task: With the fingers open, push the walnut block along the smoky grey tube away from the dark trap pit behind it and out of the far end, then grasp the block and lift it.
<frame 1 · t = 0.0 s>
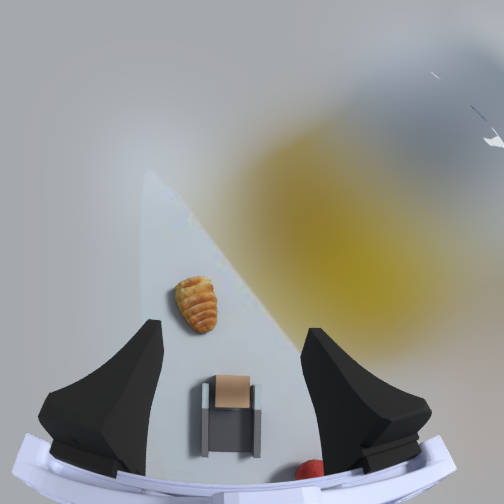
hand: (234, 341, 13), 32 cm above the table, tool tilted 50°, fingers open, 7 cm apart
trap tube: (230, 421, 37), on the table
onion: (306, 468, 35), on the table
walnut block: (230, 390, 40), on the table
pastry: (198, 303, 46), on the table
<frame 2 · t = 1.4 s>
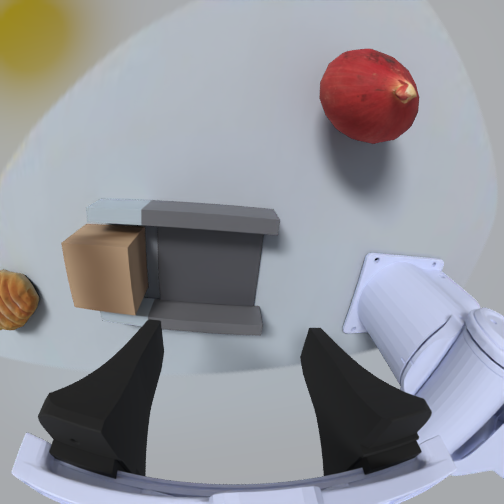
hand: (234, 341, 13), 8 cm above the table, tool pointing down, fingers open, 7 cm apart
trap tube: (184, 261, 20), on the table
onion: (343, 101, 16), on the table
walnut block: (117, 255, 19), on the table
pastry: (11, 291, 20), on the table
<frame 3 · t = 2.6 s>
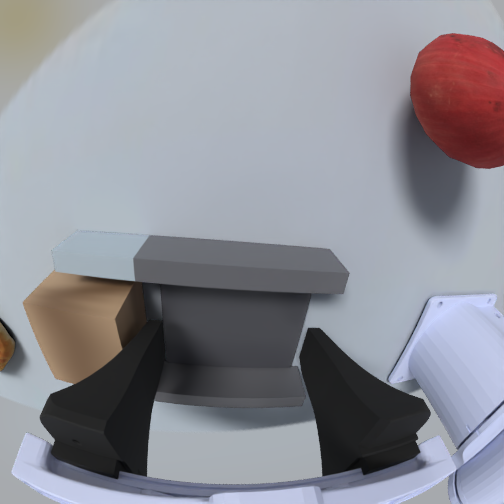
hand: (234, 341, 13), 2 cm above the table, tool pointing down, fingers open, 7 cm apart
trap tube: (200, 319, 14), on the table
onion: (421, 101, 10), on the table
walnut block: (105, 306, 13), on the table, touching gripper
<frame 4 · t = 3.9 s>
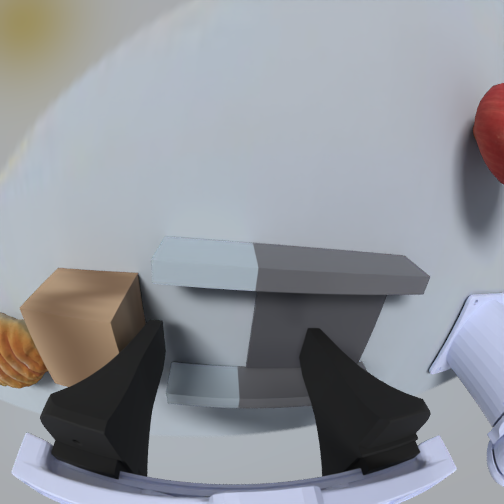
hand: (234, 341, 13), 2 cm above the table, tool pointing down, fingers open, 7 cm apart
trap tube: (288, 323, 14), on the table
onion: (473, 129, 11), on the table
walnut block: (103, 310, 13), on the table, touching gripper
pastry: (14, 338, 14), on the table
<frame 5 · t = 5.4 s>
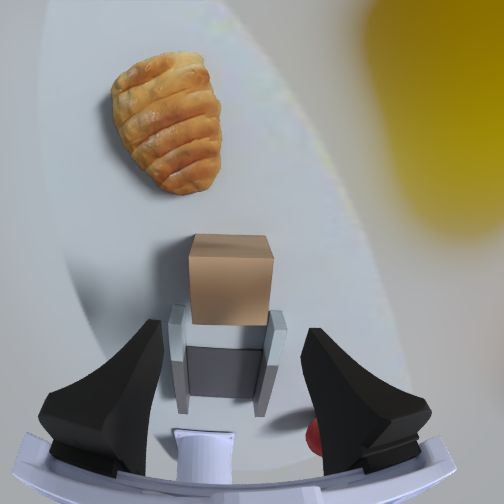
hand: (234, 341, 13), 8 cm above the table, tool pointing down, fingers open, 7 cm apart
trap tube: (223, 363, 24), on the table
onion: (322, 411, 30), on the table
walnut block: (229, 265, 21), on the table
pastry: (174, 116, 16), on the table
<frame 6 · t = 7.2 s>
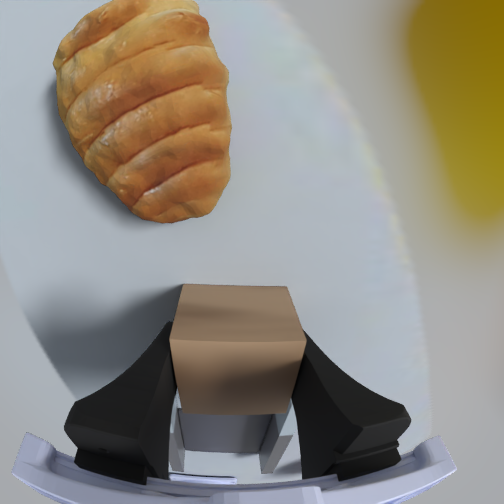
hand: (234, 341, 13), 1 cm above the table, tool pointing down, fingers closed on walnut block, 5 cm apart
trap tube: (224, 424, 18), on the table
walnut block: (233, 326, 14), on the table, touching gripper
pastry: (154, 97, 10), on the table
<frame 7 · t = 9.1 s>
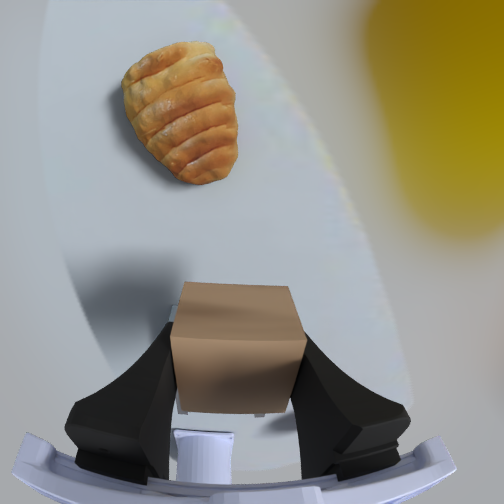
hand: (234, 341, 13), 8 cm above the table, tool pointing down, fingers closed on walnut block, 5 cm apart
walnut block: (233, 325, 14), point 7 cm above the table, touching gripper
pastry: (187, 107, 16), on the table
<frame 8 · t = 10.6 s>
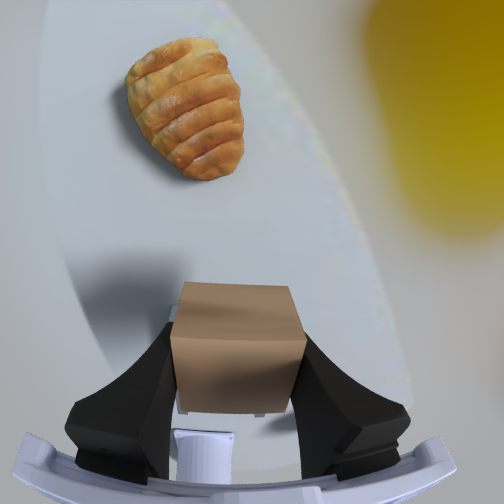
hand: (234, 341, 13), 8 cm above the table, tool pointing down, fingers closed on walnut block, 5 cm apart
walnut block: (233, 325, 14), point 7 cm above the table, touching gripper
pastry: (192, 103, 16), on the table
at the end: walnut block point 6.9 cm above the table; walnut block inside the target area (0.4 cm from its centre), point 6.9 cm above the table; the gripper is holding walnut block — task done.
